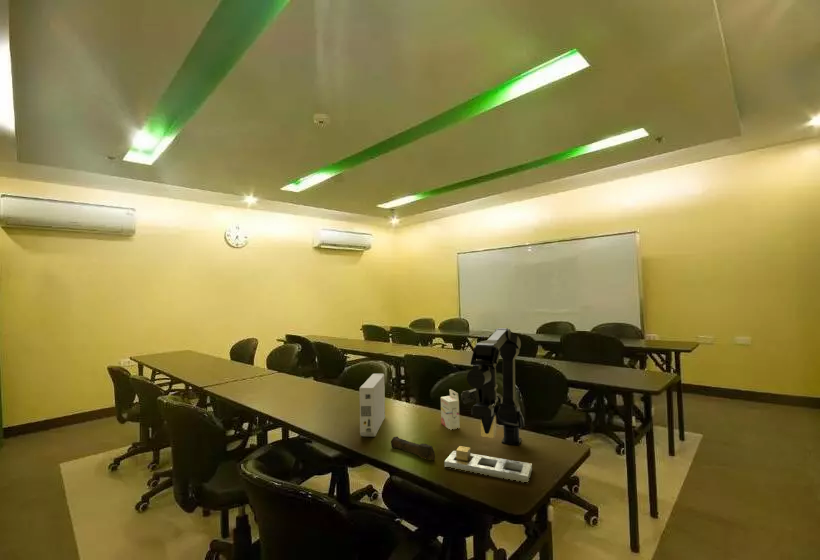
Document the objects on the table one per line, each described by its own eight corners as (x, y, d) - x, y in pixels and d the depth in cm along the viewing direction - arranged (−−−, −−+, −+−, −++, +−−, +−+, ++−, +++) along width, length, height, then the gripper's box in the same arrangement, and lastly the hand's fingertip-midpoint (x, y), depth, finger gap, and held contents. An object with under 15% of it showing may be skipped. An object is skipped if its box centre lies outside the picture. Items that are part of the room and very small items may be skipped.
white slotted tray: (453, 456, 128) (453, 441, 128) (532, 470, 117) (531, 454, 117) (444, 467, 120) (444, 451, 120) (528, 483, 109) (527, 465, 109)
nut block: (484, 432, 121) (483, 413, 122) (496, 433, 120) (495, 415, 120) (481, 436, 118) (480, 417, 118) (493, 438, 116) (493, 418, 116)
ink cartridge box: (440, 423, 161) (439, 389, 162) (450, 422, 163) (449, 388, 163) (449, 430, 153) (448, 394, 154) (460, 428, 155) (459, 393, 155)
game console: (385, 416, 172) (385, 373, 173) (374, 439, 145) (373, 387, 146) (373, 416, 173) (373, 373, 174) (360, 438, 146) (359, 387, 147)
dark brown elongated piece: (390, 449, 136) (389, 436, 136) (397, 445, 139) (397, 433, 139) (429, 464, 123) (429, 450, 123) (437, 460, 126) (436, 446, 126)
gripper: (470, 374, 132) (471, 419, 131) (454, 386, 115) (455, 437, 114) (502, 377, 127) (503, 423, 126) (490, 389, 110) (491, 442, 109)
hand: (488, 431), depth 119 cm, fingers closed on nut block, 4 cm apart
